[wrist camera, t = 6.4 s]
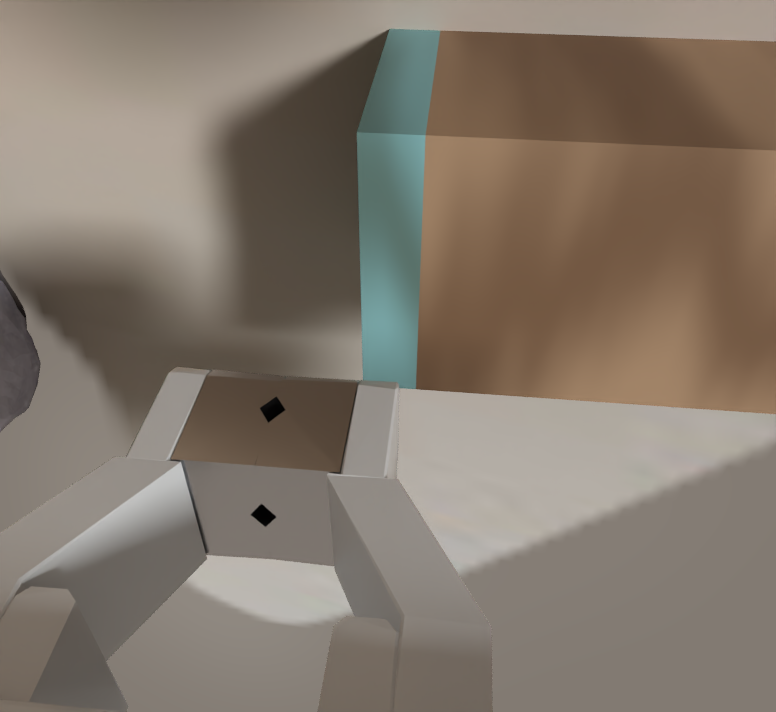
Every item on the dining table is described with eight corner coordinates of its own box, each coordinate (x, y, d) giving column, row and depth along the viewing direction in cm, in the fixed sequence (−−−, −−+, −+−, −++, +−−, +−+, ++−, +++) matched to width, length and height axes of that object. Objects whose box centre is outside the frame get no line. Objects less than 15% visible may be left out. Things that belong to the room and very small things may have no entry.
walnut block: (357, 132, 10) (1090, 164, 10) (389, 28, 14) (920, 46, 14) (363, 385, 14) (914, 423, 13) (388, 246, 18) (816, 269, 17)
